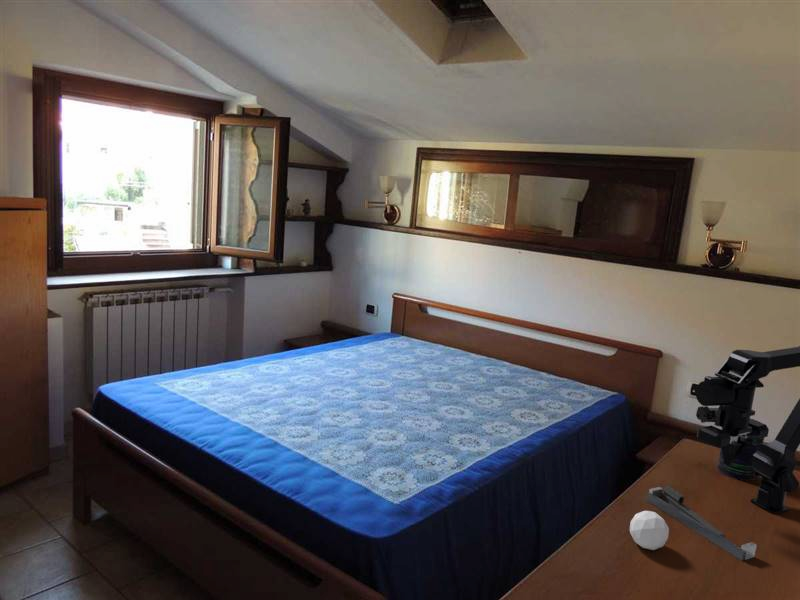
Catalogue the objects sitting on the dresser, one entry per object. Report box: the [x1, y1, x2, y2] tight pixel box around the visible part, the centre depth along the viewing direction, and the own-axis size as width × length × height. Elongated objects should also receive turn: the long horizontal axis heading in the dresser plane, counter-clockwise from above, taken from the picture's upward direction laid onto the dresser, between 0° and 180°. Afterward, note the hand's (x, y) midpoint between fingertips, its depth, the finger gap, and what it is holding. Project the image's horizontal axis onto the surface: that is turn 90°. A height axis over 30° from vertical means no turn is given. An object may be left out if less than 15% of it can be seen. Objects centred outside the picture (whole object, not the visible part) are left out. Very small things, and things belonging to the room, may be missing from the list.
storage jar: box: [716, 418, 765, 481], centre depth 175 cm, size 10×10×15 cm
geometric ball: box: [629, 510, 670, 551], centre depth 135 cm, size 8×8×8 cm
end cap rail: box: [645, 486, 757, 561], centre depth 145 cm, size 4×26×3 cm, turn 26°
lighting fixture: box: [661, 485, 726, 538], centre depth 148 cm, size 19×3×4 cm, turn 17°
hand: (727, 465), depth 152 cm, fingers closed
